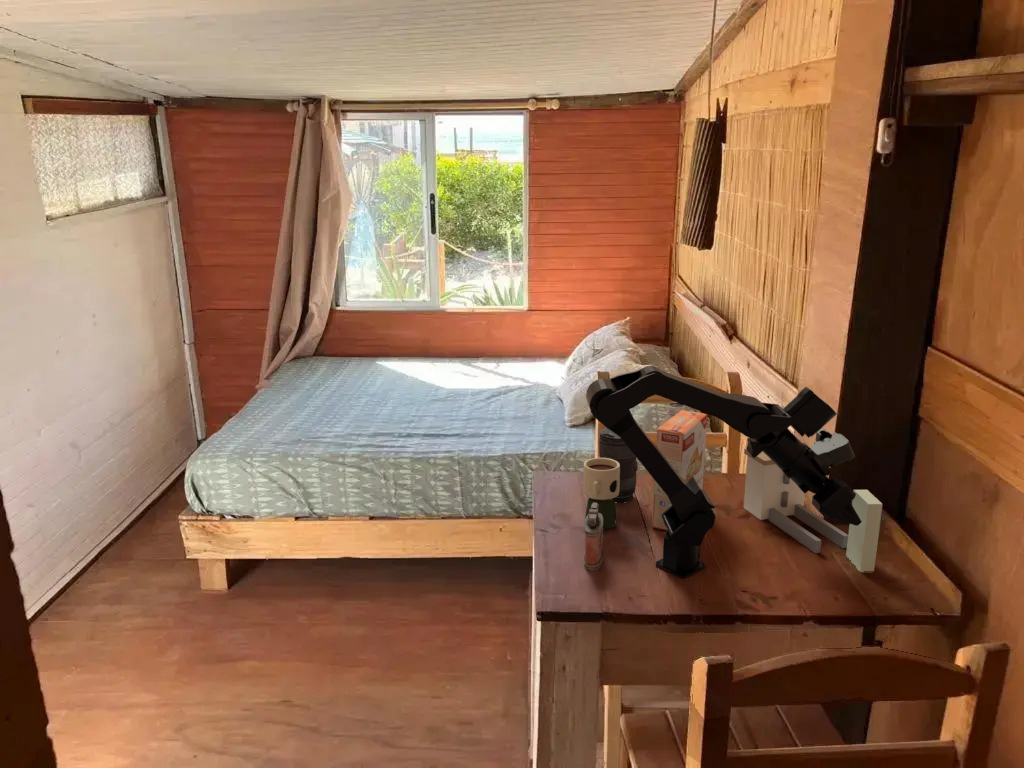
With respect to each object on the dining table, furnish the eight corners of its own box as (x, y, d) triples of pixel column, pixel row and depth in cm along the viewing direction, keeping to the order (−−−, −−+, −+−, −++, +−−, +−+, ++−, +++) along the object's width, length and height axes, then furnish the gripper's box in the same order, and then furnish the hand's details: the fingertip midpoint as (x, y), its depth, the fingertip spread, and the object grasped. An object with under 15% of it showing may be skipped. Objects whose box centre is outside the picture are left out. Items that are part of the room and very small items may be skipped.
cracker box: (679, 535, 150) (685, 433, 144) (650, 528, 153) (654, 428, 147) (703, 508, 161) (709, 412, 156) (675, 502, 164) (680, 408, 159)
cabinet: (806, 555, 142) (812, 489, 138) (740, 507, 161) (744, 448, 158) (856, 546, 145) (864, 481, 141) (785, 500, 164) (790, 442, 161)
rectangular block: (860, 572, 136) (868, 504, 132) (845, 555, 141) (853, 489, 138) (873, 572, 136) (882, 504, 132) (859, 555, 141) (866, 489, 138)
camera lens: (614, 486, 173) (615, 422, 169) (643, 497, 167) (645, 431, 163) (590, 497, 167) (591, 431, 163) (619, 508, 162) (621, 441, 158)
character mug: (612, 539, 149) (614, 476, 145) (576, 534, 151) (577, 472, 147) (623, 515, 159) (625, 456, 155) (589, 510, 161) (590, 452, 157)
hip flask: (600, 571, 137) (601, 519, 135) (581, 569, 138) (582, 518, 135) (603, 549, 145) (604, 500, 142) (585, 548, 146) (586, 499, 143)
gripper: (848, 441, 122) (910, 504, 125) (805, 405, 140) (861, 460, 143) (794, 488, 124) (856, 549, 127) (759, 447, 142) (814, 501, 145)
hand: (847, 511), depth 136 cm, fingers open, 9 cm apart
